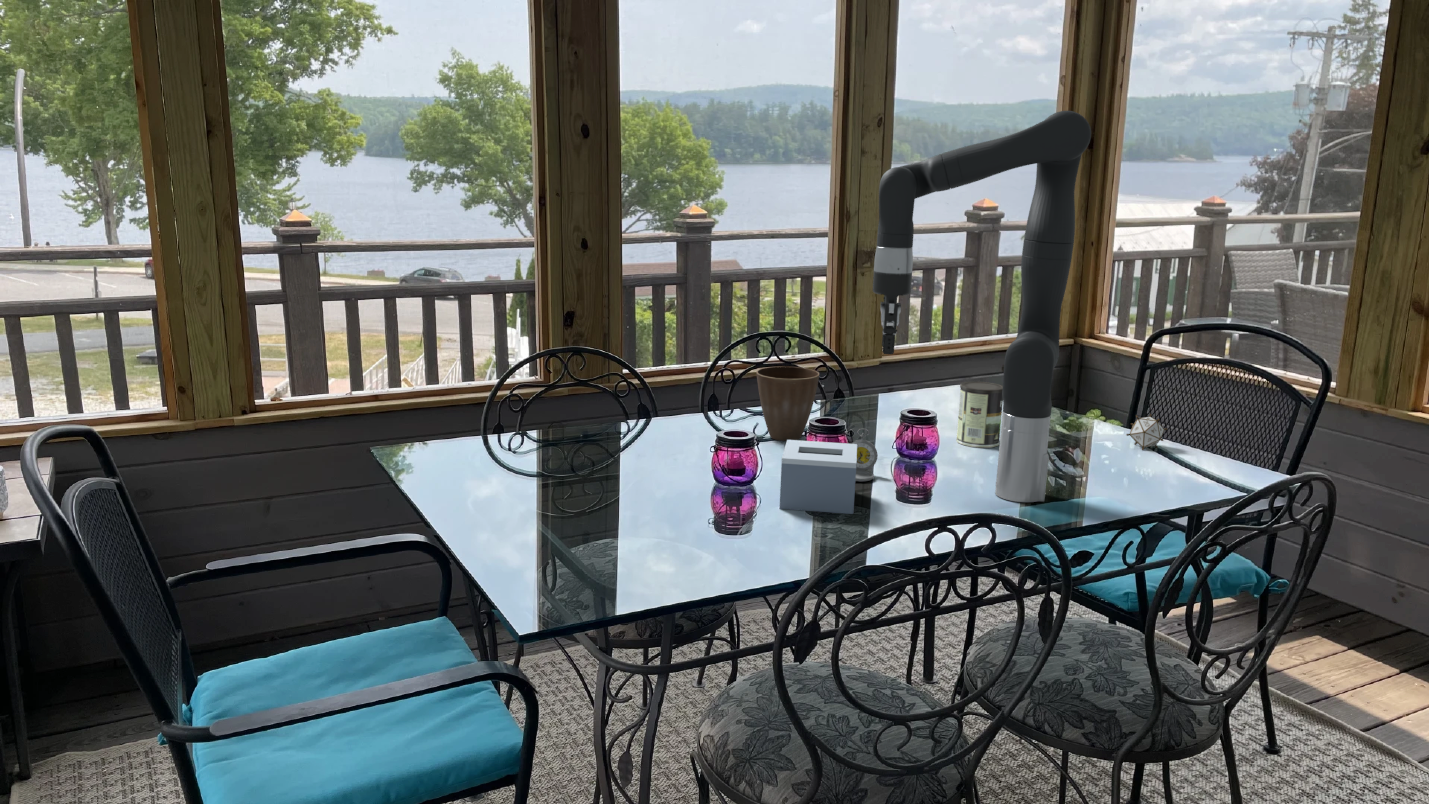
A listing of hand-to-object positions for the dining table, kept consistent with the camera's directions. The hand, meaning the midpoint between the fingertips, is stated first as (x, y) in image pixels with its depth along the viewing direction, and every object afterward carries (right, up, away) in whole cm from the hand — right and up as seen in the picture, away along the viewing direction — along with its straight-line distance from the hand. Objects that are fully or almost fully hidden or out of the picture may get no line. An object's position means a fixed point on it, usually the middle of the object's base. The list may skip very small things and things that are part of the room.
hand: (887, 350), depth 213 cm
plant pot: (-18, -19, +41) cm, 49 cm away
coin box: (-15, -30, -6) cm, 34 cm away
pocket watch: (-4, -27, +11) cm, 29 cm away
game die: (+69, -22, +41) cm, 83 cm away
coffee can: (+28, -20, +42) cm, 55 cm away
